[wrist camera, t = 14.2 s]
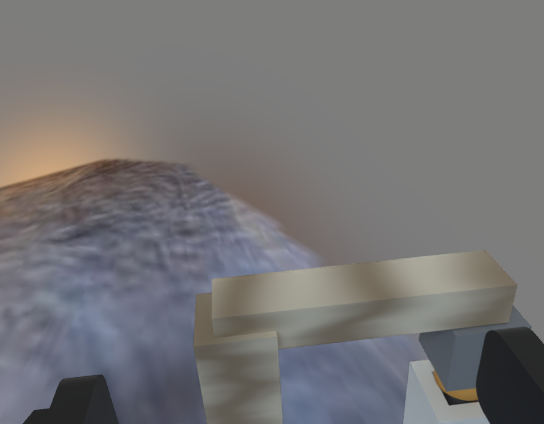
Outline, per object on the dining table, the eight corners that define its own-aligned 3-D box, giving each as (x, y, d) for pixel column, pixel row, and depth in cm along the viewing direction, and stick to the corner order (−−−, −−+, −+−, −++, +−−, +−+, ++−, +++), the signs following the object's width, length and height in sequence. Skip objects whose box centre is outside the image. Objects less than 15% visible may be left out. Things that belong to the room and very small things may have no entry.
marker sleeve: (428, 488, 30) (439, 422, 27) (402, 424, 34) (409, 361, 31) (500, 478, 30) (518, 412, 27) (466, 416, 34) (479, 353, 31)
